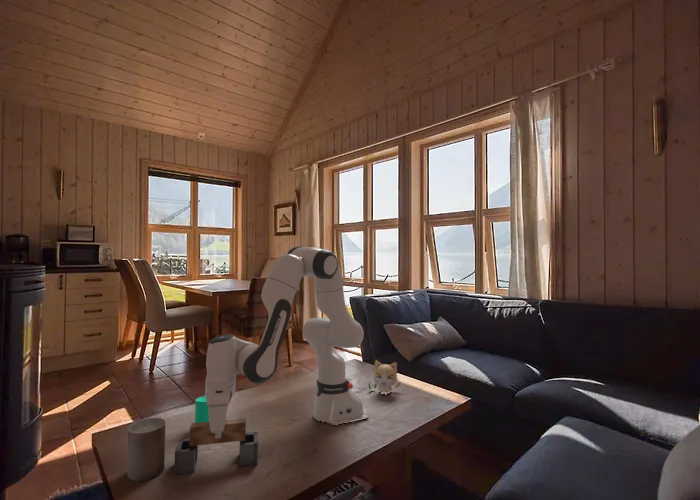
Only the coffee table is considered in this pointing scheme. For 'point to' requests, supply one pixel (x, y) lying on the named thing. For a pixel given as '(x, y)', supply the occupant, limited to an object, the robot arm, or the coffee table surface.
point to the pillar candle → (146, 449)
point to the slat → (203, 436)
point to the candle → (201, 410)
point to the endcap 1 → (185, 457)
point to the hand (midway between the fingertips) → (218, 433)
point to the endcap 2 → (249, 450)
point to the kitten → (385, 376)
